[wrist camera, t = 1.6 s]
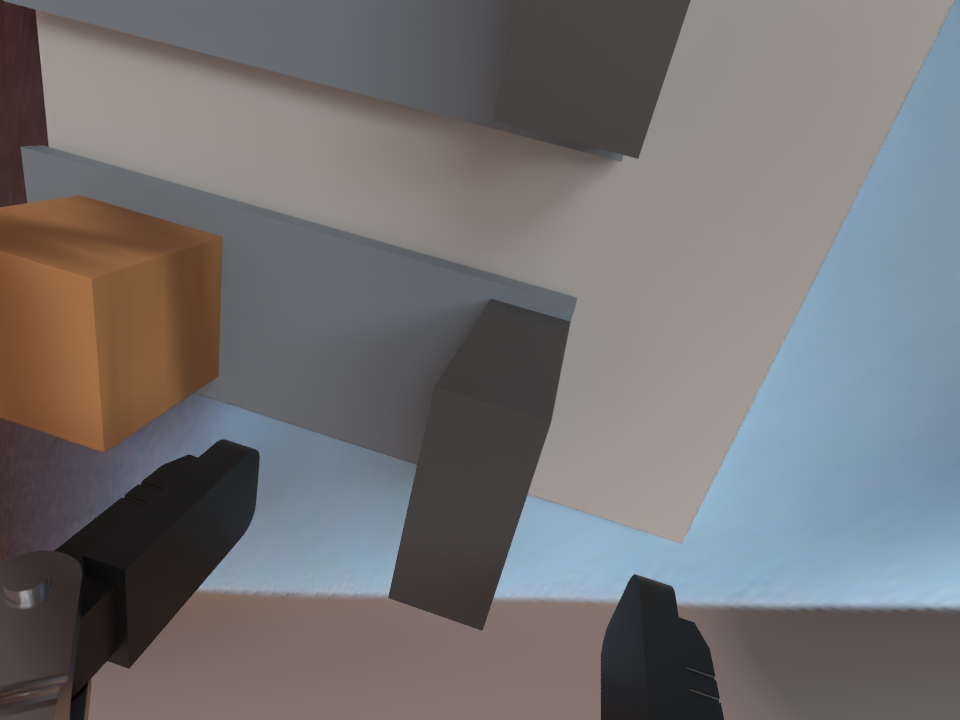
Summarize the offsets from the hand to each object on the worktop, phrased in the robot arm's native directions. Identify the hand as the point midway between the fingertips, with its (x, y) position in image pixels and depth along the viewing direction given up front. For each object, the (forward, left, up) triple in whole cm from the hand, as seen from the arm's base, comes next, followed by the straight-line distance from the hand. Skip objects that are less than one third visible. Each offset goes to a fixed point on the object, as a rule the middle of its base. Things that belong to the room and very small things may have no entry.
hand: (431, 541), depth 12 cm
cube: (+12, 0, -7) cm, 14 cm away
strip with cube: (+7, 0, -8) cm, 11 cm away
